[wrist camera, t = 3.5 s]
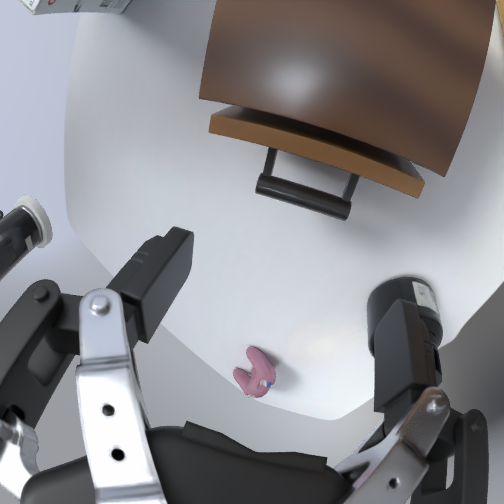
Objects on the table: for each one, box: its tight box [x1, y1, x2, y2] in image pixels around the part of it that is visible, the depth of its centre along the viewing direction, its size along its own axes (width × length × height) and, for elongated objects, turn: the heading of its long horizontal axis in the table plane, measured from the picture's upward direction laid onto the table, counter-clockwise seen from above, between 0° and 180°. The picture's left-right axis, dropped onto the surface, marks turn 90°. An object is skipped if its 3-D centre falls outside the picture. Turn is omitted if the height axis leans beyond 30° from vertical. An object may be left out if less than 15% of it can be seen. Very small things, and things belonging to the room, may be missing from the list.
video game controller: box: [233, 346, 276, 398], centre depth 45 cm, size 10×5×7 cm, turn 162°
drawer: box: [209, 105, 425, 221], centre depth 16 cm, size 19×13×9 cm
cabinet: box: [199, 0, 496, 177], centre depth 13 cm, size 16×15×11 cm
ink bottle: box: [367, 277, 443, 388], centre depth 27 cm, size 10×9×12 cm
